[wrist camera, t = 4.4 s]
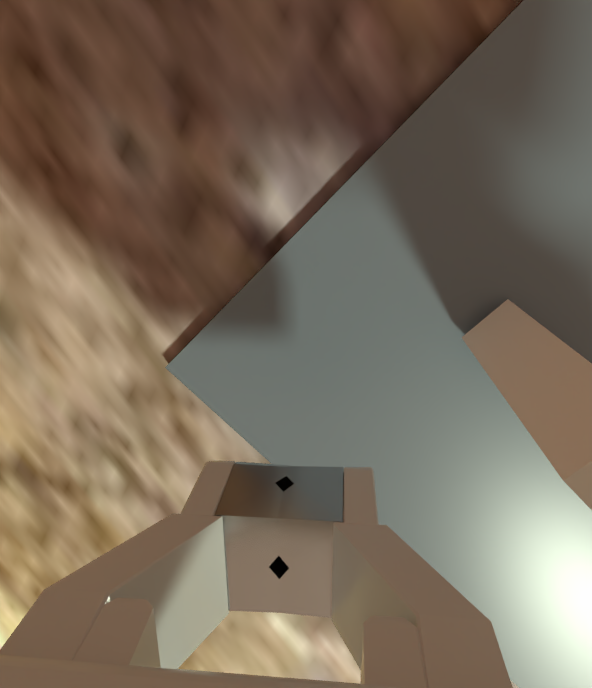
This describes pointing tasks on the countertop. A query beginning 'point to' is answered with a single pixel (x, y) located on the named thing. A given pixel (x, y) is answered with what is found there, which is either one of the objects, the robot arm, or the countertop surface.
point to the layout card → (441, 334)
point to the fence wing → (541, 388)
